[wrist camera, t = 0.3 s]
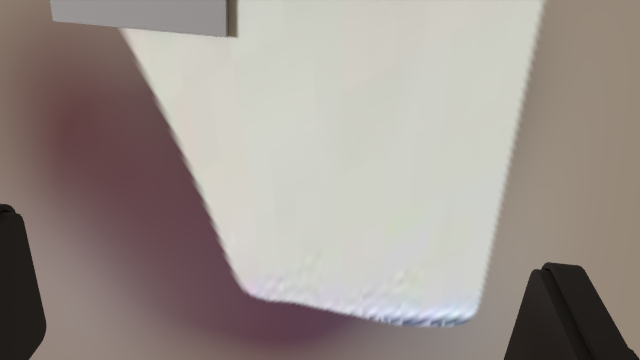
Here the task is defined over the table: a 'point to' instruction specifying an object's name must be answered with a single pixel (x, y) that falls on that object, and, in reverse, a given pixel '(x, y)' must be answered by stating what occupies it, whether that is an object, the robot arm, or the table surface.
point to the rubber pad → (148, 14)
